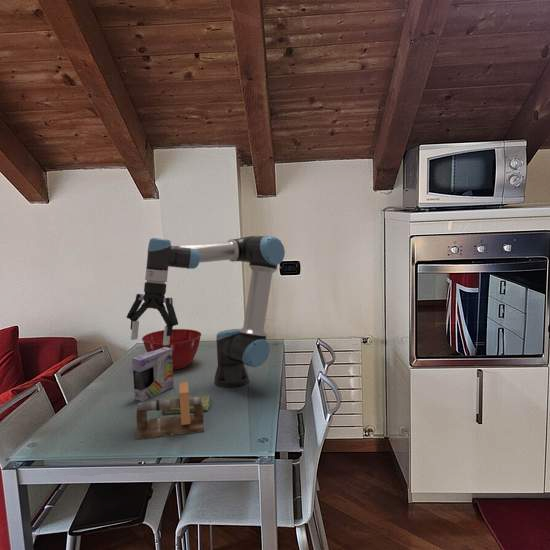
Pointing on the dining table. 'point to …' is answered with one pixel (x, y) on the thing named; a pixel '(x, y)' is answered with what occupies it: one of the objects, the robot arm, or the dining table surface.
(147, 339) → the mixing bowl
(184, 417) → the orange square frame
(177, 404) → the rod stand
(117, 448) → the dining table surface
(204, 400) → the washcloth
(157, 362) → the cake pan box
